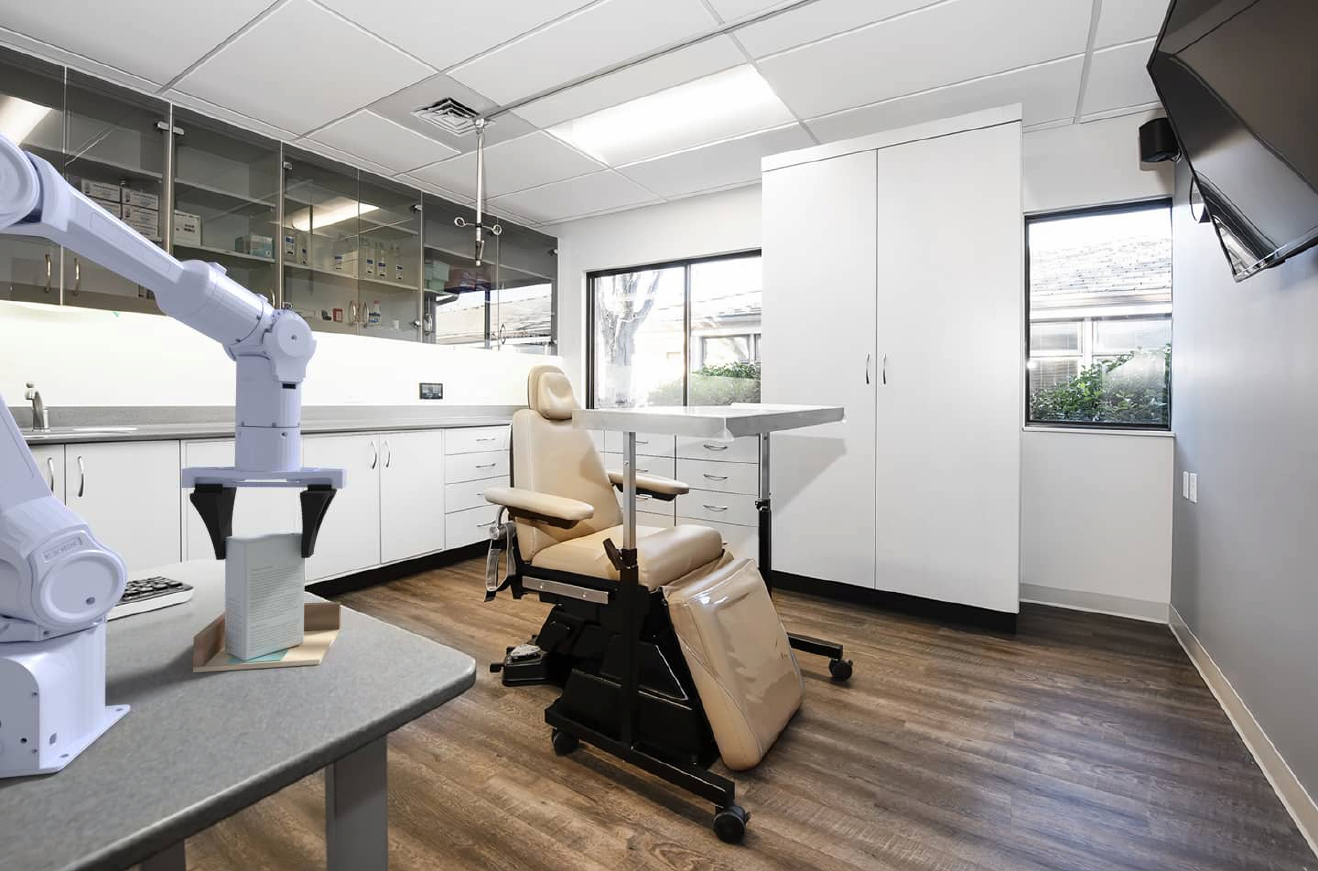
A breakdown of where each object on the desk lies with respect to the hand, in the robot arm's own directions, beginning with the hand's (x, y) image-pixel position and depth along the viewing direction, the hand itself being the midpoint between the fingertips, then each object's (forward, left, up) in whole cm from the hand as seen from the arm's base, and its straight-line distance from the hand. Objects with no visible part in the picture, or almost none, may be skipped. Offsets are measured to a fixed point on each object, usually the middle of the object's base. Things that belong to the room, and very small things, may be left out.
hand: (266, 556), depth 65 cm
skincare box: (0, 0, -10) cm, 10 cm away
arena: (+1, -1, -10) cm, 10 cm away
